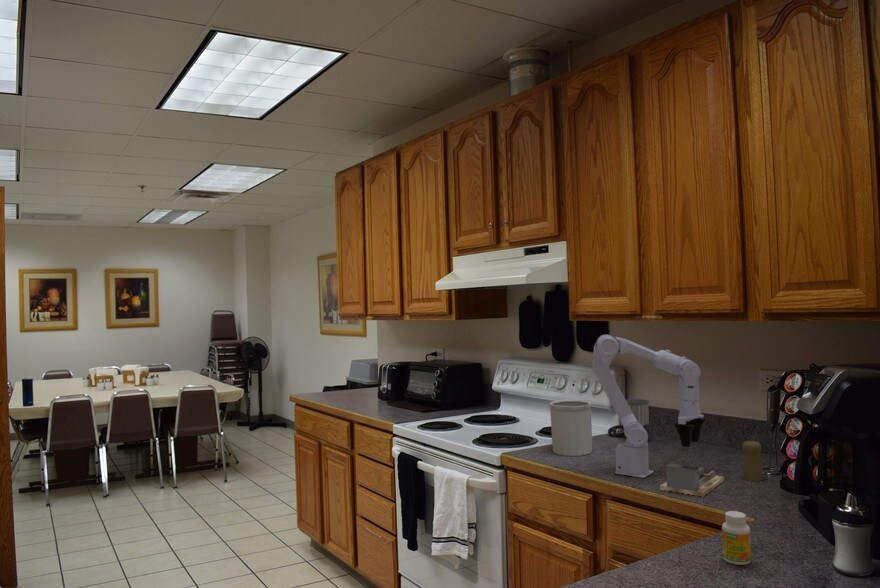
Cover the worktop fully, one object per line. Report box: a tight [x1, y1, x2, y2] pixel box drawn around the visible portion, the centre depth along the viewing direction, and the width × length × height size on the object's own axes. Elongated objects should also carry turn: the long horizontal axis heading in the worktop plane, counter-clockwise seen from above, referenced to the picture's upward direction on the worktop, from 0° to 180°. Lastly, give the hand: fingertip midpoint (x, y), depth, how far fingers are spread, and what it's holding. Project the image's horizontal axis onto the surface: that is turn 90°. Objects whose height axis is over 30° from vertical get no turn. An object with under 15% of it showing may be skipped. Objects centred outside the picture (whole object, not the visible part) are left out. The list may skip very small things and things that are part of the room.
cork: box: [741, 440, 765, 482], centre depth 196 cm, size 6×6×11 cm
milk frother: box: [607, 398, 651, 442], centre depth 253 cm, size 14×16×15 cm
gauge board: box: [659, 470, 725, 498], centre depth 191 cm, size 12×19×3 cm, turn 140°
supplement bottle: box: [721, 510, 752, 566], centre depth 138 cm, size 5×5×10 cm
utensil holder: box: [548, 398, 593, 457], centre depth 234 cm, size 15×15×18 cm
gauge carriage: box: [692, 466, 711, 480], centre depth 190 cm, size 8×5×4 cm, turn 50°
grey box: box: [665, 463, 699, 492], centre depth 184 cm, size 8×3×6 cm, turn 50°
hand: (690, 444), depth 201 cm, fingers open, 7 cm apart
